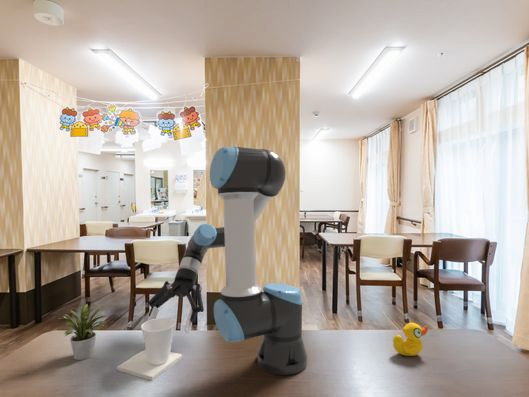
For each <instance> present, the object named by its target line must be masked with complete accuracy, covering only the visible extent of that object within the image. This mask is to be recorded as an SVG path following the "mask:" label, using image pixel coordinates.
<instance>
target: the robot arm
mask: <svg viewBox="0 0 529 397" xmlns="http://www.w3.org/2000/svg"><path fill="white" fill-rule="evenodd" d="M285 167H286V166H285V164H284V162H283V160H282V158H281V157H280V155H278V154H277V153H276V152H274V151H272V150H269V149H264V148H251V147H240V146H223V147H220V148H218V149H217V150H216V151H215V153H214V155H213V157H212V160H211V163H210V168H209V181H210V185H211V186H212V187H213V188H214V189H215V190H216V189H217V195H218V198H220V199H221V200H222V201H223V227H222V226H221V227H214V226H213V225H212V224H210V223H202V224H200V225H199V226H198V227H197V228H196V229H195V231H194V233H193V235H192V236H190V239H189V240H188V242H187V246H186V248H185V251H184V254H183V257H182V259H181V261H180V263H179V266H178V269H177V272H176V274H175V276H174V280H173V282H169V281H168V280H166V281H165V282H164V283H163V286H162V287H161V288H160V289H159V290H158V291H157V292H156V293H155V294H154V295H153V296H152V297H151V298H150V299H149V300H148V301H147V304H148V305H149V307H150V310H149V313H148V317H149V318H148V319H147V321H149V320H151V319H156V318H157V317H158V313H159V311H160V309H159V308H161V307H162V306H163V305H165V304H166V302H168V301H169V300H171V299H172V298H174V297H182V298H185V297H186V298H187V300H188V302H189V304H190V306H191V309H189V313H188V315H187V316H188V317H187V319H186V322H185V325H184V328H183V329H184V332H186V333H190V330H191V326H192V324H193V323H195V322H196V319H197V315H198V314H199V313H200V312H201V313H203V312H204V310H205V308H204V302H203V298H202V289H203V288H202V286H201V285H200V284H201V283H197V284H196V282H197V278H198V274H199V272H200V269H201V266H202V262H203V260H204V258H205V256H206V253H207V252H208V251H209V249H215V248H216V249H217V248H224V256H225V257H224V258H225V260H224V261H225V263H224V264H225V265H224V266H225V286H224V287H223V288H222V289H221V290H220V299H217V300H215V302H214V305H213V317H214V322H215V325H216V329H217V330H218V332H219V335H220V336H221V337H222V339H223V340H224V341H225V342H228V343H237V342H244V341H246V340H250V339H254V338H257V337H261V336H262V341H261V343H260V345H259V349H258V352H257V364H258V366H259V367H260V368H261V369H262V370H264V371H265V372H267V373H269V374H274V375H279V376H288V375H296V374H298V373H301V372H303V370H304V369H306V368H307V366H308V352H307V350H306V349H307V348H306V346H305V342H304V340H303V334H302V333H303V296H302V292H301V290H300V289H299V288H297V287H295V286H293V285H290V284H285V283H278V282H277V283H274V282H273V283H267V284H265V285H264V286H263V288H261V287H260V286H259V284H257V269H256V268H257V266H256V236H255V223H256V221H257V219H259V217H260V215H261V214H262V212H263V211H264V209H265V208H266V206H267V205H268V203H269V202H270V201H271V199H272V198H274V197H277V195H278V194H279V193H280V192H281V190H282V189H283V186H284V184H285V180H286V168H285ZM192 291H195V296H196V301H197V305H196V303H195V300H194V299H193V296H192V294H191V292H192Z"/></svg>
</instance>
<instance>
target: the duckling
mask: <svg viewBox="0 0 529 397" xmlns="http://www.w3.org/2000/svg"><path fill="white" fill-rule="evenodd" d="M428 331H429V330H428V326H427V325H424V327H421V326H420V325H419V324H417V323H415V322H409V323H407V324H405V325H404V326H403V328H402V332H403V334H404V336H405V337H406V339H405V340H404V339H403V337H402V336H401V335H400V334H396V335H395V336H394V337H393V339H392V344H393V345H392V346H393V349H394V350H395V351H396V352H397V353H398V354H399V355H403V356H406V357H414V356H418V355H419V353H420V352H422V350H423V345H424V344H423V342H422V341H421V337H423V336H425V335H426V334H427V333H428Z"/></svg>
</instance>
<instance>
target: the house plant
mask: <svg viewBox="0 0 529 397" xmlns="http://www.w3.org/2000/svg"><path fill="white" fill-rule="evenodd" d="M95 305H96V304H93V305H92V307H91V308H90V309H89V308H88V306H89V304H88V303H86V304H85V305H83V303H81V307H80V318H79V316H78V314H77V313H76V312H75V311H74V310H72V309H70V311H69V312H68V313H72V316H73V317H74V319H75V320H74V319H73V318H72V317H70V315H68V314H64V316H61V317H60V318H59V320H61V319H62V318H63V319H65V320H67V321H68V322H66V323H65V325H66V326H67V327H71V328H73V330H70V329H69V330H65V332H64V334H63V336H64V337H66V336H68V335H71V334H74V335H72V336H71V337H70V338H69V339H70V344H71V348H72V353H73V359H74V360H77V361H83V360H84V361H85V360H87V359H90V358H91V357H92V356H93V355H94V349H95V345H96V344H95V343H96V338H97V333H96V332H95V331H93V330H94V329H95V328H98V327H106V325H105V324H106V321H100V319H102V318H105V317H106V315H101V314H103V313H104V311H101V312H99V311H100V310H101V309H102V308H103V307H104V305H102V306H100V307H99V308H97V309H96V310H95V311H94V312H93V313H92V315H91V316H90V314H91V312H92V310H94V307H95ZM98 312H99V313H98ZM106 312H108V311H107V310H106V311H105V313H106ZM89 316H90V317H89ZM110 316H111V315H107V317H110ZM98 320H99V321H98ZM75 321H76V322H75Z"/></svg>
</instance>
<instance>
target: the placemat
mask: <svg viewBox="0 0 529 397" xmlns="http://www.w3.org/2000/svg"><path fill="white" fill-rule="evenodd" d="M182 358H183V354H181V353H177V352H172V351H170V357H169V359H168V361H167V362H165V363H163V364H160V365H152V364H150V363H149V362H148V359H147V353H146V348H145V349H143V350H141V351H139V353H137V354H135V355H133V356H132V357H130V358H129V359H127V360H126V361H124V362H123V363H121V364H119V365H118V366H116V370H117V371H119V372H122V373H126V374H129V375H133V376H135V377H140V378H142V379H146V380H150V381H154V380H155V379H157V378H158V377H159V376H160V375H162V374H163V373H164V372H166V371H167V370H168V369H169V368H171V367H172V366H173V365H175V364H176V363H177V362H178V361H180V360H182Z"/></svg>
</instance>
